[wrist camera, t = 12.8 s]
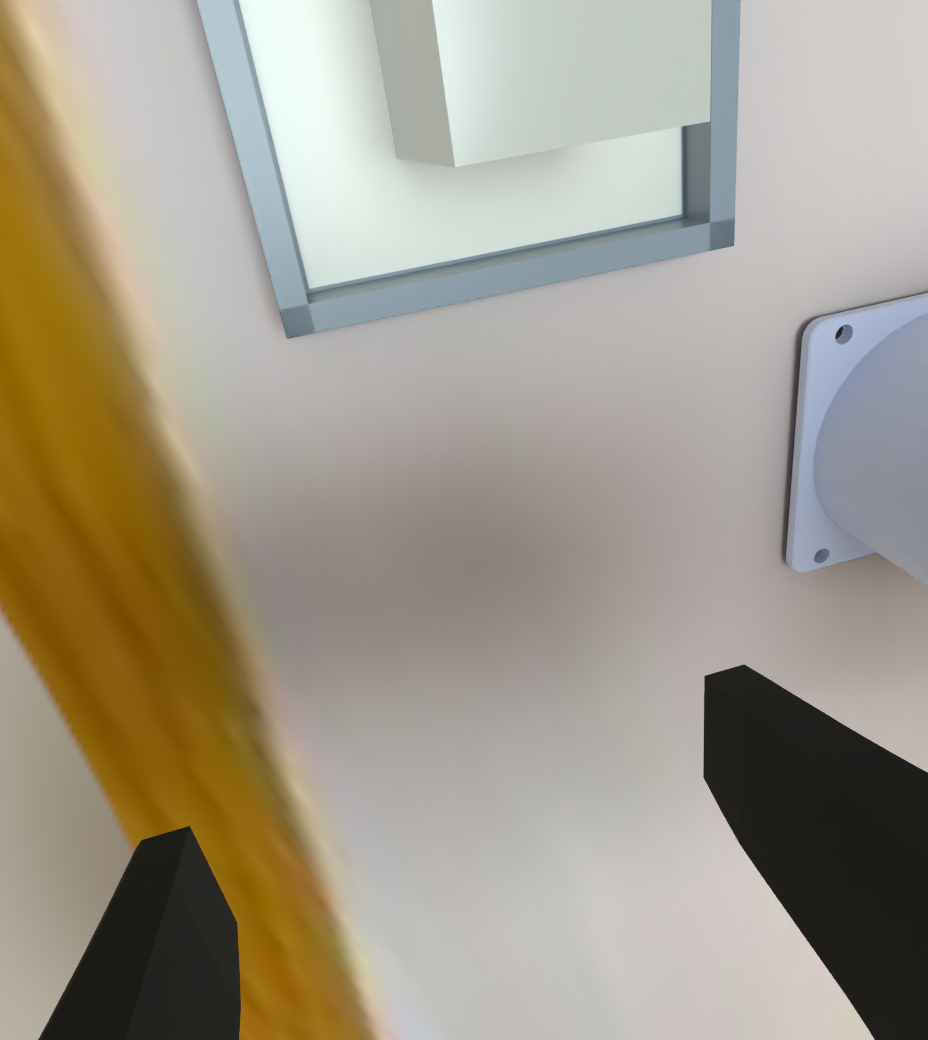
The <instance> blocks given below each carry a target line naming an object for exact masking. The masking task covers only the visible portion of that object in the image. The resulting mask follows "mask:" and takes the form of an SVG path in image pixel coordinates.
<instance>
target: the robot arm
mask: <svg viewBox="0 0 928 1040" xmlns="http://www.w3.org/2000/svg"><path fill="white" fill-rule="evenodd" d="M841 326H843V331H842V334H841V336H840V337H839V338H838V339H835V335H836V332H837V331H838V329H839V328H840V327H841ZM819 550H820V552H819V553H818V554H817V555H816V556H815V554H816V553H817V552H818V551H819ZM874 553H878V554H880V555H881V556H883V557H884V558H886V559H887V560H889V561H890V562H892V563H893V564H895V565H896V566H897V567H899V568H900V569H902V570H903V571H905V572H906V573H908V574H909V575H911V576H912V577H914V578H915V579H917V580H918V581H920V582H921V583H923V584H924V585H926V586H927V587H928V293H924V294H920V295H915V296H911V297H907V298H902V299H898V300H893V301H889V302H884V303H880V304H876V305H871V306H867V307H862V308H858V309H853V310H849V311H845V312H840V313H836V314H831V315H827V316H822V317H819V318H817V319H815V320H813V321H812V322H811V323H810V324H809V325H808V326H807V328H806V329H805V331H804V333H803V337H802V347H801V360H800V374H799V387H798V401H797V415H796V428H795V442H794V456H793V469H792V483H791V496H790V510H789V524H788V537H787V551H786V562H787V564H788V565H789V567H791V568H792V569H793V570H794V571H795V572H798V573H805V572H809V571H812V570H816V569H820V568H823V567H827V566H830V565H834V564H838V563H841V562H845V561H849V560H852V559H856V558H859V557H863V556H867V555H870V554H874ZM704 779H705V781H706V783H707V785H708V787H709V789H710V790H711V792H712V794H713V796H714V798H715V800H716V802H717V804H718V806H719V807H720V809H721V811H722V813H723V815H724V817H725V818H726V820H727V822H728V824H729V826H730V827H731V829H732V831H733V833H734V834H735V836H736V838H737V840H738V842H739V843H740V845H741V846H742V848H743V849H744V851H745V852H746V854H747V855H748V857H749V858H750V860H751V861H752V862H753V864H754V865H755V867H756V868H757V870H758V871H759V872H760V874H761V875H762V877H763V878H764V880H765V881H766V883H767V884H768V885H769V887H770V888H771V890H772V891H773V893H774V894H775V895H776V897H777V898H778V900H779V901H780V903H781V904H782V905H783V907H784V908H785V910H786V911H787V912H788V914H789V915H790V917H791V918H792V919H793V921H794V922H795V924H796V925H797V927H798V928H799V929H800V931H801V932H802V934H803V935H804V936H805V938H806V939H807V941H808V942H809V944H810V945H811V946H812V948H813V949H814V951H815V952H816V953H817V955H818V956H819V958H820V959H821V960H822V962H823V963H824V965H825V966H826V968H827V969H828V970H829V972H830V973H831V975H832V976H833V977H834V979H835V980H836V982H837V983H838V985H839V986H840V987H841V989H842V990H843V992H844V993H845V994H846V996H847V997H848V999H849V1000H850V1002H851V1003H852V1005H853V1006H854V1008H855V1010H856V1011H857V1013H858V1014H859V1016H860V1017H861V1019H862V1020H863V1022H864V1023H865V1025H866V1026H867V1028H868V1029H869V1031H870V1032H871V1034H872V1036H873V1037H874V1039H875V1040H928V773H927V772H925V771H924V770H922V769H920V768H918V767H916V766H914V765H913V764H911V763H909V762H907V761H905V760H904V759H902V758H900V757H898V756H896V755H895V754H893V753H891V752H889V751H888V750H886V749H884V748H882V747H881V746H879V745H877V744H875V743H874V742H872V741H870V740H869V739H867V738H865V737H863V736H862V735H860V734H858V733H857V732H855V731H853V730H852V729H850V728H848V727H846V726H845V725H843V724H841V723H840V722H838V721H836V720H835V719H833V718H831V717H830V716H828V715H826V714H825V713H823V712H821V711H820V710H818V709H817V708H815V707H813V706H812V705H810V704H808V703H807V702H805V701H803V700H802V699H800V698H798V697H797V696H795V695H794V694H792V693H790V692H789V691H787V690H785V689H784V688H782V687H781V686H779V685H777V684H776V683H774V682H772V681H771V680H769V679H767V678H766V677H764V676H763V675H761V674H759V673H758V672H756V671H754V670H752V669H751V668H749V667H747V666H746V665H741V666H737V667H734V668H731V669H727V670H724V671H720V672H717V673H713V674H710V675H707V676H705V692H704ZM240 1011H241V999H240V970H239V950H238V931H237V921H236V919H235V917H234V915H233V913H232V911H231V909H230V907H229V905H228V903H227V901H226V899H225V897H224V895H223V893H222V891H221V889H220V887H219V885H218V883H217V881H216V879H215V877H214V875H213V872H212V870H211V868H210V866H209V864H208V862H207V860H206V858H205V856H204V854H203V852H202V850H201V848H200V846H199V844H198V842H197V840H196V838H195V836H194V834H193V832H192V830H191V828H190V826H188V827H185V828H182V829H178V830H175V831H171V832H168V833H164V834H161V835H158V836H154V837H151V838H147V839H144V840H141V842H140V843H139V845H138V846H137V848H136V849H135V851H134V853H133V855H132V858H131V860H130V862H129V864H128V866H127V868H126V870H125V872H124V874H123V876H122V878H121V880H120V882H119V884H118V886H117V888H116V891H115V892H114V895H113V897H112V899H111V901H110V903H109V905H108V907H107V909H106V911H105V913H104V915H103V917H102V919H101V921H100V923H99V925H98V927H97V929H96V931H95V933H94V935H93V937H92V939H91V941H90V943H89V945H88V947H87V949H86V951H85V953H84V955H83V957H82V959H81V961H80V962H79V964H78V966H77V968H76V970H75V972H74V974H73V976H72V978H71V979H70V981H69V983H68V985H67V987H66V989H65V991H64V993H63V995H62V996H61V998H60V1000H59V1002H58V1004H57V1006H56V1008H55V1010H54V1012H53V1013H52V1015H51V1017H50V1019H49V1021H48V1023H47V1025H46V1027H45V1028H44V1030H43V1032H42V1034H41V1036H40V1038H39V1039H38V1040H239V1030H240Z"/></svg>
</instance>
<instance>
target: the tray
mask: <svg viewBox="0 0 928 1040" xmlns="http://www.w3.org/2000/svg"><path fill="white" fill-rule="evenodd" d="M196 1H197V4H198V8H199V12H200V16H201V19H202V23H203V27H204V30H205V34H206V38H207V42H208V45H209V49H210V53H211V57H212V60H213V64H214V68H215V72H216V75H217V79H218V83H219V87H220V90H221V94H222V98H223V101H224V105H225V109H226V113H227V116H228V120H229V124H230V128H231V131H232V135H233V139H234V143H235V146H236V150H237V154H238V158H239V161H240V165H241V169H242V172H243V176H244V180H245V184H246V187H247V191H248V195H249V199H250V202H251V206H252V210H253V214H254V217H255V221H256V225H257V229H258V232H259V236H260V240H261V243H262V247H263V251H264V255H265V258H266V262H267V266H268V270H269V273H270V277H271V281H272V285H273V288H274V292H275V296H276V300H277V303H278V307H279V311H280V314H281V318H282V322H283V326H284V329H285V333H286V337H287V339H288V338H293V337H298V336H303V335H307V334H312V333H317V332H322V331H327V330H331V329H336V328H341V327H346V326H351V325H356V324H360V323H365V322H370V321H375V320H380V319H384V318H389V317H394V316H399V315H404V314H408V313H413V312H418V311H423V310H428V309H432V308H437V307H442V306H447V305H452V304H456V303H461V302H466V301H471V300H476V299H480V298H485V297H490V296H495V295H500V294H504V293H509V292H514V291H519V290H524V289H529V288H533V287H538V286H543V285H548V284H553V283H557V282H562V281H567V280H572V279H577V278H581V277H586V276H591V275H596V274H601V273H605V272H610V271H615V270H620V269H625V268H629V267H634V266H639V265H644V264H649V263H653V262H658V261H663V260H668V259H673V258H677V257H682V256H687V255H692V254H697V253H701V252H706V251H711V250H716V249H721V248H726V247H730V246H734V222H735V185H736V147H737V110H738V72H739V34H740V0H712V13H711V95H710V121H709V122H703V123H698V124H692V125H687V126H681V127H676V128H670V129H665V130H659V131H654V132H648V133H643V134H637V135H632V136H626V137H620V138H615V139H609V140H604V141H598V142H593V143H587V144H582V145H576V146H571V147H565V148H560V149H554V150H549V151H543V152H538V153H532V154H527V155H521V156H516V157H510V158H505V159H499V160H493V161H488V162H482V163H477V164H471V165H466V166H460V167H449V166H443V165H437V164H430V163H424V162H418V161H411V160H405V159H399V158H397V157H396V151H395V146H394V140H393V134H392V128H391V123H390V117H389V111H388V105H387V99H386V94H385V88H384V82H383V76H382V71H381V65H380V59H379V53H378V47H377V42H376V36H375V30H374V24H373V19H372V13H371V7H370V1H369V0H196Z"/></svg>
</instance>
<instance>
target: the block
mask: <svg viewBox="0 0 928 1040" xmlns="http://www.w3.org/2000/svg"><path fill="white" fill-rule="evenodd" d="M369 1H370V7H371V13H372V19H373V24H374V30H375V36H376V42H377V47H378V53H379V59H380V65H381V71H382V76H383V82H384V88H385V94H386V99H387V105H388V111H389V117H390V123H391V128H392V134H393V140H394V146H395V151H396V157H397V158H399V159H405V160H411V161H418V162H424V163H430V164H437V165H443V166H449V167H460V166H466V165H471V164H477V163H482V162H488V161H493V160H499V159H505V158H510V157H516V156H521V155H527V154H532V153H538V152H543V151H549V150H554V149H560V148H565V147H571V146H576V145H582V144H587V143H593V142H598V141H604V140H609V139H615V138H620V137H626V136H632V135H637V134H643V133H648V132H654V131H659V130H665V129H670V128H676V127H681V126H687V125H692V124H698V123H703V122H709V121H710V95H711V13H712V0H369Z"/></svg>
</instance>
